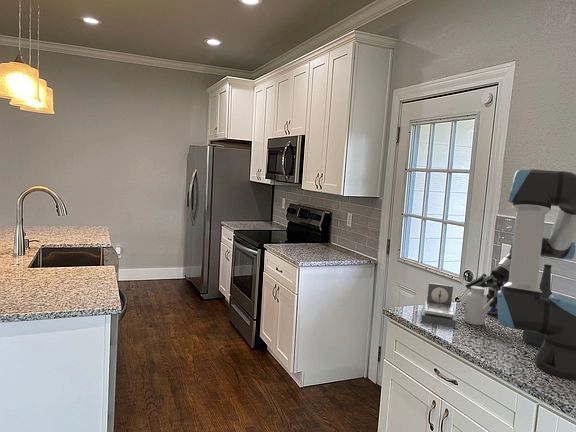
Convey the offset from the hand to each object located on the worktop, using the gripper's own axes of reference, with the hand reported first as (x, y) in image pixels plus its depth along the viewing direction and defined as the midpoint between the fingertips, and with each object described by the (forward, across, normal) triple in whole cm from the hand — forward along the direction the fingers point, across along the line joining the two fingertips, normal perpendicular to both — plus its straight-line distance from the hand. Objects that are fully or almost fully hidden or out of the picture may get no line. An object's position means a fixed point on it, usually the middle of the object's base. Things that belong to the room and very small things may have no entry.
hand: (471, 306), depth 183 cm
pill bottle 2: (-10, +10, -20) cm, 24 cm away
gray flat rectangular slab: (+11, +5, +7) cm, 14 cm away
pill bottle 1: (+4, 0, -6) cm, 7 cm away
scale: (+13, +6, +3) cm, 15 cm away
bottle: (-2, -24, -12) cm, 27 cm away
